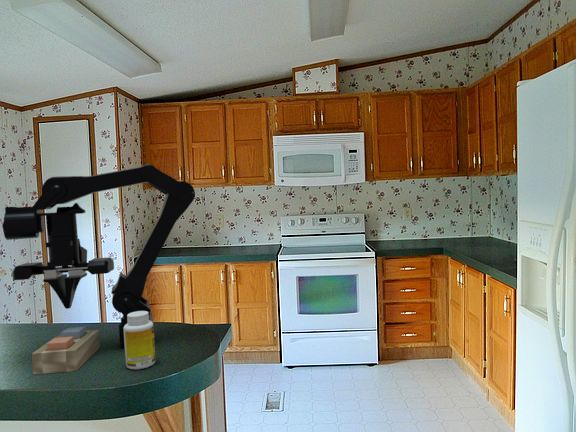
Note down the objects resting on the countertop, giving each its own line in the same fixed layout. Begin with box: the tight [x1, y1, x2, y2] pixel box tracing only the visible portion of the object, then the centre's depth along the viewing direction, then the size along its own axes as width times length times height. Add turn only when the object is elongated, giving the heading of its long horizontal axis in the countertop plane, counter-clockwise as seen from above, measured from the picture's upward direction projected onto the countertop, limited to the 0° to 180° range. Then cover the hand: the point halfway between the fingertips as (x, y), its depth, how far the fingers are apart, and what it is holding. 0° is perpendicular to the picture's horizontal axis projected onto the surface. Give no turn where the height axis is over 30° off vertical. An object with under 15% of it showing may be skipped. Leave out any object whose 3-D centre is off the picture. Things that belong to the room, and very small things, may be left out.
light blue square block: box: [60, 325, 87, 339], centre depth 92 cm, size 4×4×3 cm
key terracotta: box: [46, 336, 74, 351], centre depth 86 cm, size 4×4×3 cm
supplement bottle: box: [124, 311, 157, 370], centre depth 84 cm, size 6×6×10 cm
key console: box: [31, 329, 101, 375], centre depth 89 cm, size 8×13×4 cm, turn 5°
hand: (68, 308), depth 93 cm, fingers closed
